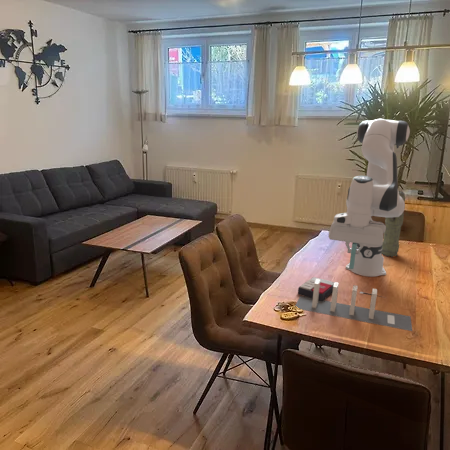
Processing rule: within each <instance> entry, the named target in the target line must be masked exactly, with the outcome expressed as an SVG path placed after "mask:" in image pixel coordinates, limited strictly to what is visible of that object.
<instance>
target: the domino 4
mask: <svg viewBox="0 0 450 450" xmlns="http://www.w3.org/2000/svg"><path fill="white" fill-rule="evenodd" d="M358 288H359V286H358V285H355V284H354V285H353V286H352V290H351V299H350V304H349V305H350V312H349V315H354V310H355V306H356V301H357V294H358Z"/></svg>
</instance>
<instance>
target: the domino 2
mask: <svg viewBox="0 0 450 450" xmlns="http://www.w3.org/2000/svg"><path fill="white" fill-rule="evenodd" d="M333 282H334V285H333V292H332V294H331V301H330V302H331V309H330V311H333V312H335V308H336V303H338V302H337V301H338V292H339V284H340V283H339V282H337V281H333Z"/></svg>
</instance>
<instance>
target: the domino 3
mask: <svg viewBox="0 0 450 450" xmlns="http://www.w3.org/2000/svg"><path fill="white" fill-rule="evenodd" d="M351 243H352V242H351ZM356 247H357V243H352V244H351V248H352V249H351V253H350V258H349V259H350V260H349V263H350V265H349V269H353V268H354V262H355V255H356V254H355V253H356Z"/></svg>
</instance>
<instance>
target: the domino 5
mask: <svg viewBox="0 0 450 450" xmlns="http://www.w3.org/2000/svg"><path fill="white" fill-rule="evenodd" d="M371 294H372V295H370V296H371V299H370V306H369V309H370V310H369V318H370V319H373V317H374V311H375V310H376V303H377V298H378V289H377V288H372V292H371Z"/></svg>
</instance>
